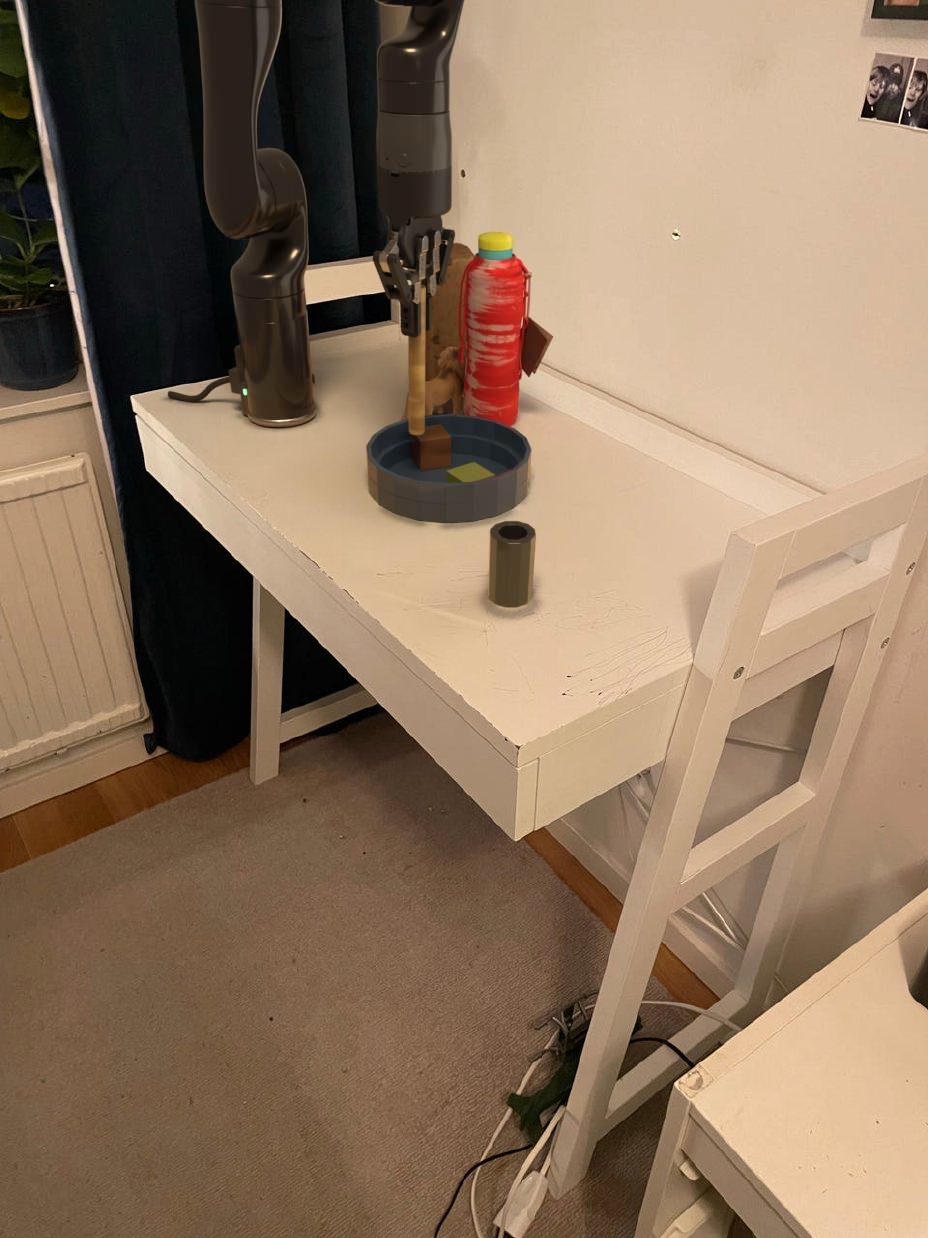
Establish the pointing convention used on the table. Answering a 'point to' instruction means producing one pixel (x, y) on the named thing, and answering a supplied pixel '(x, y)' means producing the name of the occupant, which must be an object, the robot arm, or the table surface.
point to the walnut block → (431, 448)
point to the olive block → (467, 473)
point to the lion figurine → (444, 384)
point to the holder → (511, 563)
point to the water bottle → (497, 330)
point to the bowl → (427, 490)
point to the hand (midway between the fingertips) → (416, 331)
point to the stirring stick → (417, 374)
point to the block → (447, 311)
